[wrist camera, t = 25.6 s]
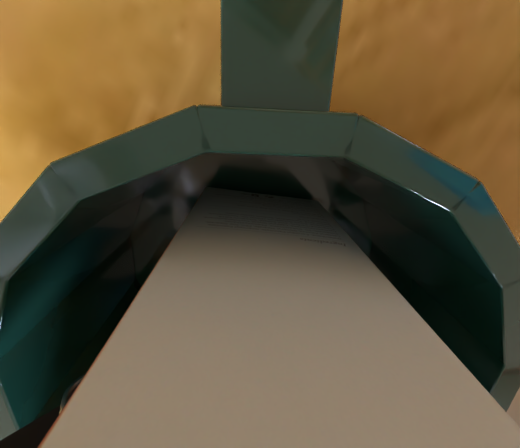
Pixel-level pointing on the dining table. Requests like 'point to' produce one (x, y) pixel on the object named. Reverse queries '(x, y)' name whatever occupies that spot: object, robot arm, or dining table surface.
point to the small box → (274, 347)
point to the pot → (255, 181)
